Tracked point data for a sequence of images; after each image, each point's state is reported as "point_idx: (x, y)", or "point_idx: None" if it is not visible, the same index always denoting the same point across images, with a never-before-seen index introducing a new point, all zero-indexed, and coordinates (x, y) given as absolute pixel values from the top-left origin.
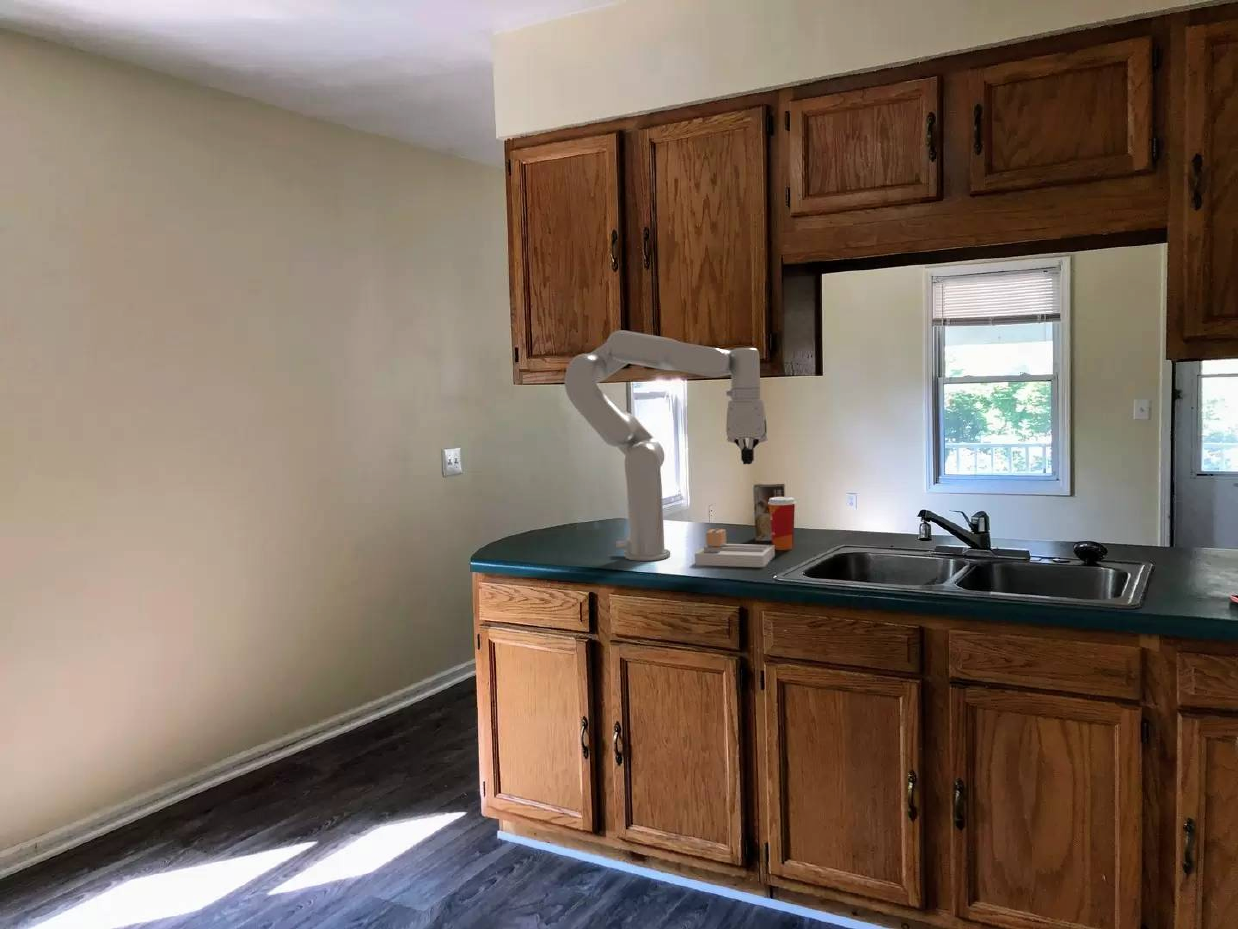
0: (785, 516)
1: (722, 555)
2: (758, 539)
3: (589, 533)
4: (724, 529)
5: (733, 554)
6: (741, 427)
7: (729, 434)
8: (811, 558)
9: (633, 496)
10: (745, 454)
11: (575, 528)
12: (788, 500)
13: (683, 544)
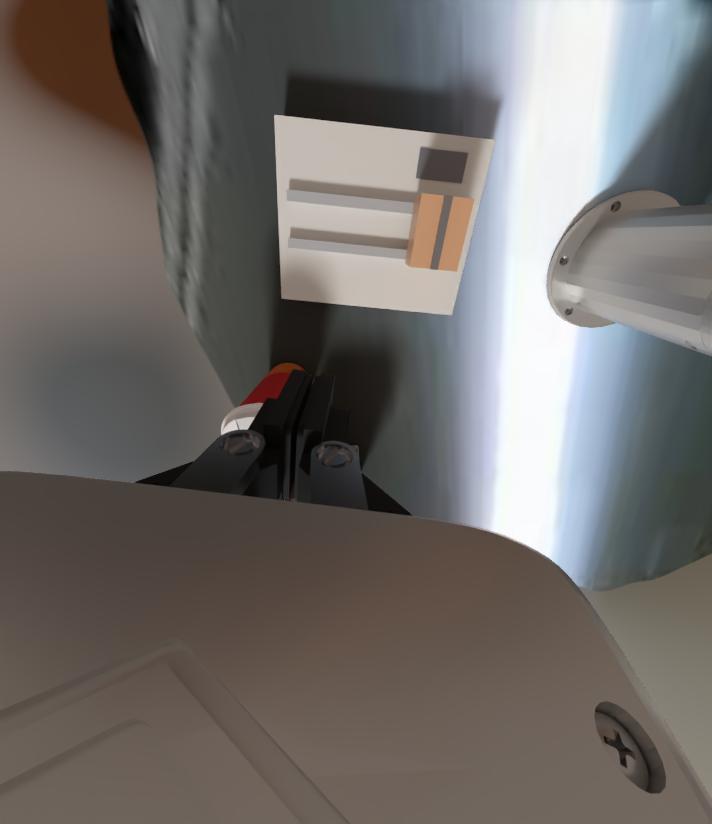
0: (254, 394)
1: (405, 130)
2: (352, 446)
3: (687, 499)
4: (413, 265)
5: (370, 131)
6: (205, 768)
7: (534, 573)
8: (197, 273)
9: None
10: (306, 406)
11: (703, 535)
12: (229, 421)
13: (504, 411)
